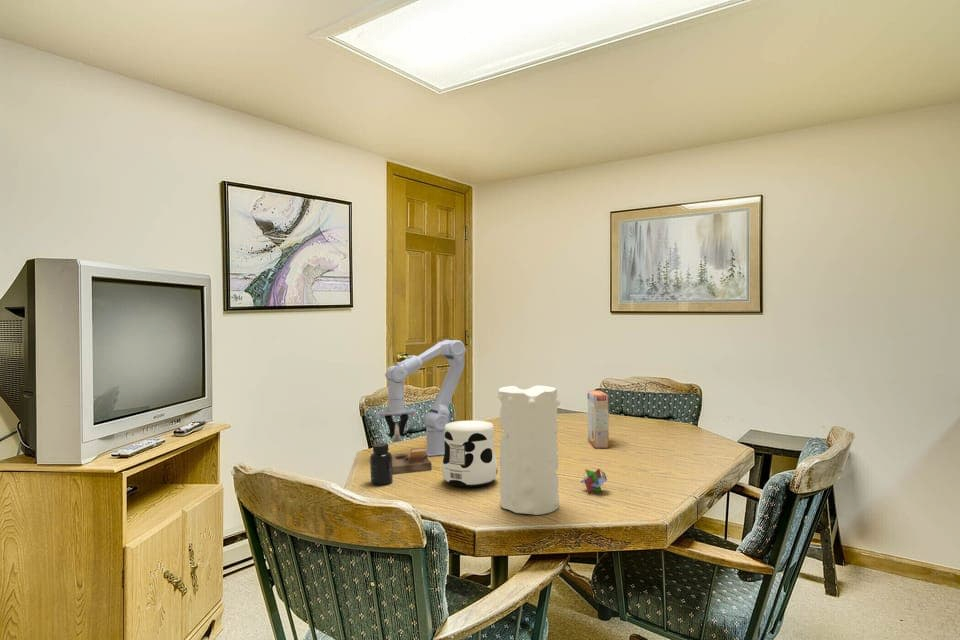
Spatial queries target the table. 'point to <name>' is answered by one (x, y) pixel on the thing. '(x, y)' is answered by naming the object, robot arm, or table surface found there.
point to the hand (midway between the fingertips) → (396, 435)
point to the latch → (417, 453)
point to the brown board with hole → (409, 464)
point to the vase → (529, 449)
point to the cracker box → (598, 419)
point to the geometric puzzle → (594, 480)
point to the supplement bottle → (381, 465)
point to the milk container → (469, 453)
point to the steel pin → (396, 430)
